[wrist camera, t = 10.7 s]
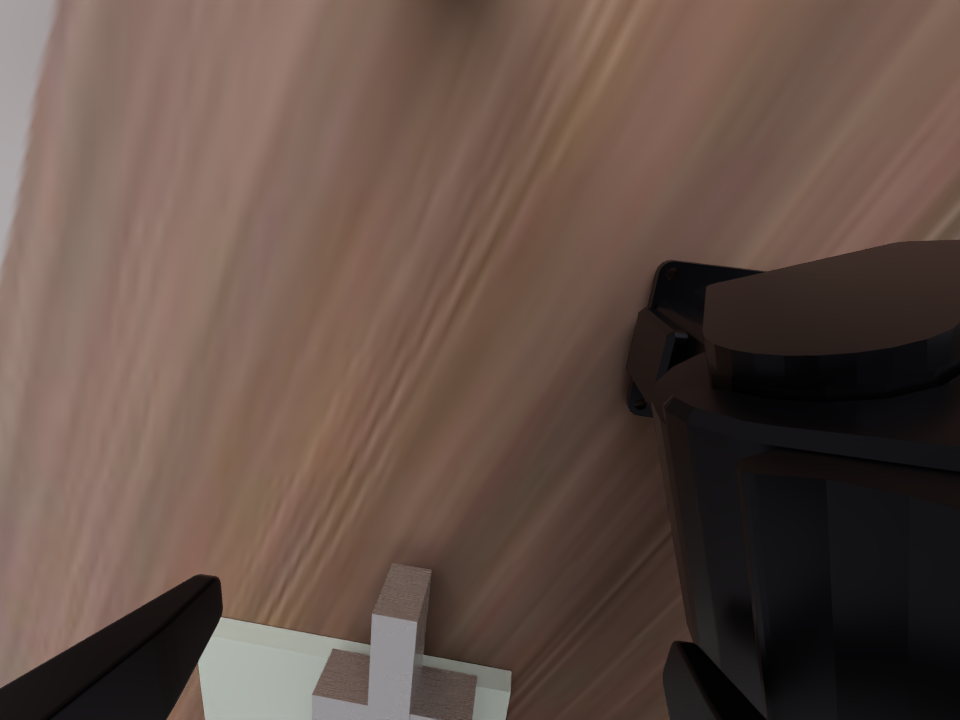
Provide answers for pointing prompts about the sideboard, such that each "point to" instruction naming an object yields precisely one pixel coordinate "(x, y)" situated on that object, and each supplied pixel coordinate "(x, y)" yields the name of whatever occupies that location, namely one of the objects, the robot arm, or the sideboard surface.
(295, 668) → the keeper board
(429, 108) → the sideboard surface
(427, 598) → the steel link
